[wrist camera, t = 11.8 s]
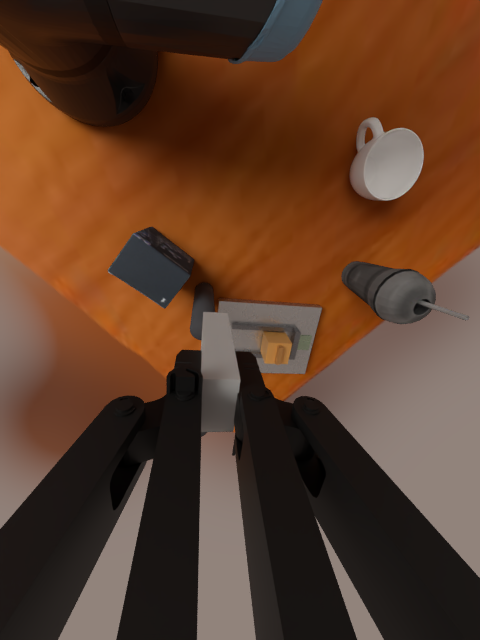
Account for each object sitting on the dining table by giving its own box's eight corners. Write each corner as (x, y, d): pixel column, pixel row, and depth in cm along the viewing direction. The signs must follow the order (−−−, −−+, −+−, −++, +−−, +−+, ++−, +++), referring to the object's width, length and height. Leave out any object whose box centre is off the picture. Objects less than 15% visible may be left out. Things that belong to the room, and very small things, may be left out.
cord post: (194, 299, 42) (189, 339, 30) (195, 281, 41) (190, 316, 29) (212, 300, 43) (215, 340, 30) (213, 283, 42) (217, 317, 29)
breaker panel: (212, 366, 49) (213, 376, 46) (218, 297, 43) (219, 304, 40) (302, 369, 51) (307, 378, 49) (318, 304, 46) (326, 311, 43)
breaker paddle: (260, 351, 46) (265, 366, 42) (263, 331, 45) (269, 345, 40) (281, 351, 47) (289, 366, 42) (285, 332, 45) (293, 346, 41)
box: (195, 258, 40) (191, 276, 30) (174, 286, 41) (164, 311, 32) (151, 224, 37) (132, 231, 28) (130, 255, 38) (105, 272, 29)
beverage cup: (328, 266, 43) (416, 312, 25) (368, 244, 42) (488, 276, 24) (341, 301, 46) (428, 365, 28) (378, 281, 45) (492, 333, 27)
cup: (348, 211, 40) (374, 212, 33) (324, 145, 35) (348, 133, 29) (394, 182, 39) (430, 178, 32) (375, 110, 34) (411, 90, 28)
